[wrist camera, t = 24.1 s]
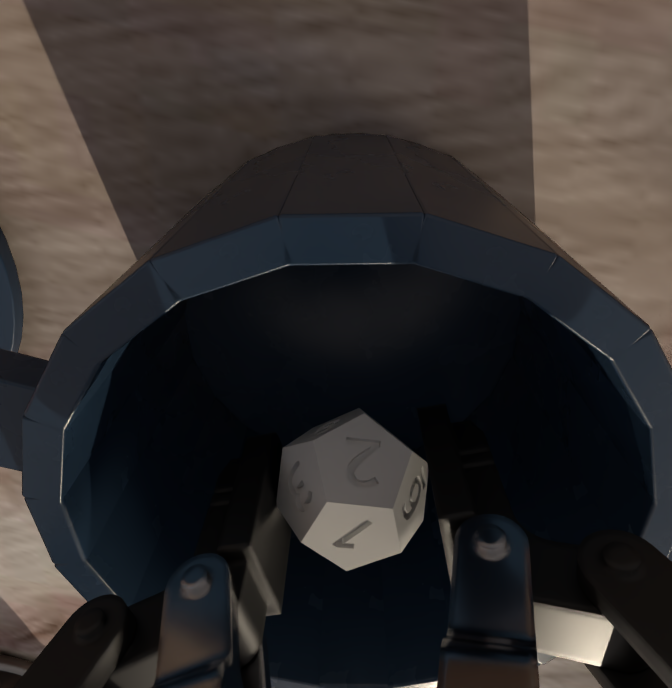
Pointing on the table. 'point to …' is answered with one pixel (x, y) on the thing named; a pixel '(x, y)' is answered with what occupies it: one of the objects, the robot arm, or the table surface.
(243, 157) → the table surface
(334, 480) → the game die
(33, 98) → the table surface
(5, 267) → the lid
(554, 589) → the robot arm
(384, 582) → the pot
